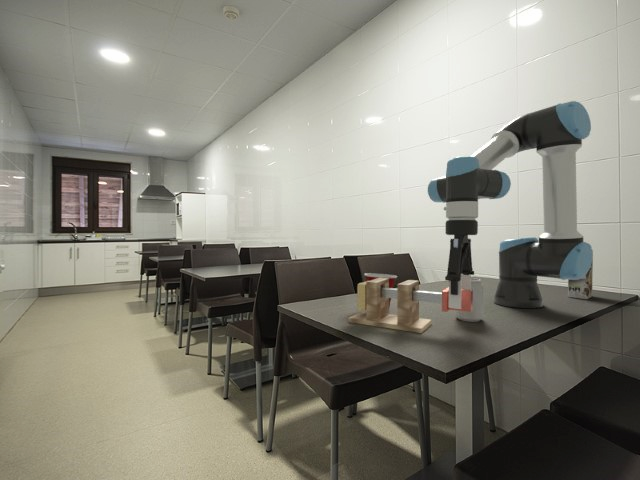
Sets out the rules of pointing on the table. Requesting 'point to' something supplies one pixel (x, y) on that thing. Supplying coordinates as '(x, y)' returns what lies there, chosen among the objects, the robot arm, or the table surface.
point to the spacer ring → (362, 296)
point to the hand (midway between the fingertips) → (460, 303)
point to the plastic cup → (374, 276)
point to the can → (474, 303)
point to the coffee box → (581, 286)
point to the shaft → (434, 297)
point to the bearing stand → (380, 307)
